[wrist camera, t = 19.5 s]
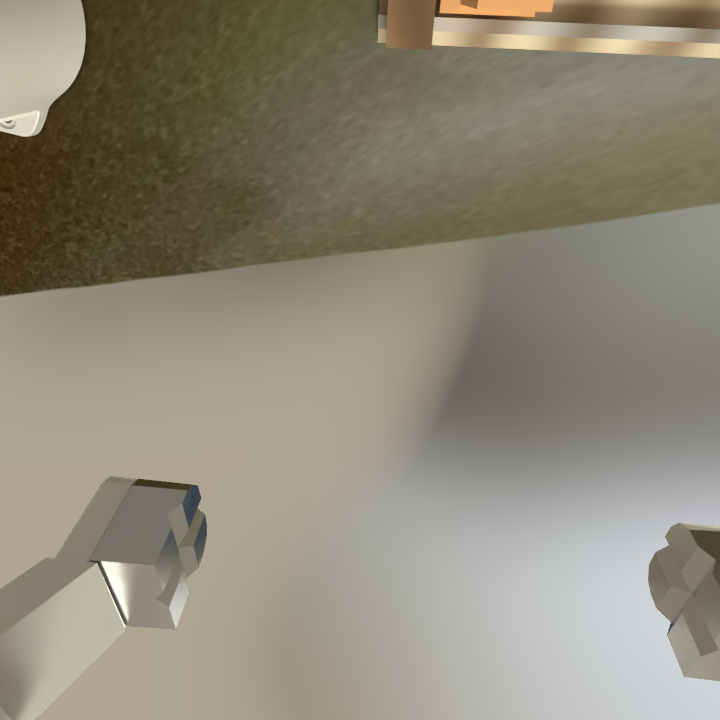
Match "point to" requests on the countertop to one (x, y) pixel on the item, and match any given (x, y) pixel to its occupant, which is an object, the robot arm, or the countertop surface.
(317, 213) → the countertop surface
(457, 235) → the countertop surface
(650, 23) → the rail board
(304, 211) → the countertop surface
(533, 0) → the slider
